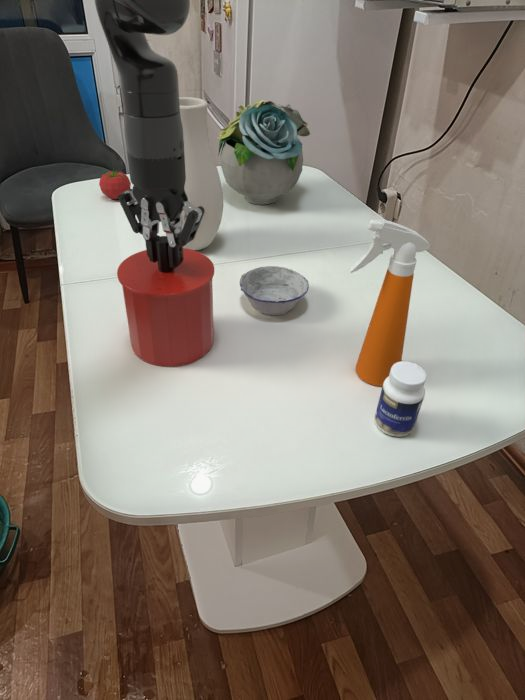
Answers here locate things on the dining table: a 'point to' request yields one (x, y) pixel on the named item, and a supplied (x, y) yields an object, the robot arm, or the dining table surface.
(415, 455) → the dining table surface
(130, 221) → the robot arm
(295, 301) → the bowl
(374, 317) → the spray bottle
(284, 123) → the flower arrangement
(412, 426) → the pill bottle
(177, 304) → the pot
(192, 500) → the dining table surface
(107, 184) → the tomato
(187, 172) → the vase
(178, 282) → the lid
